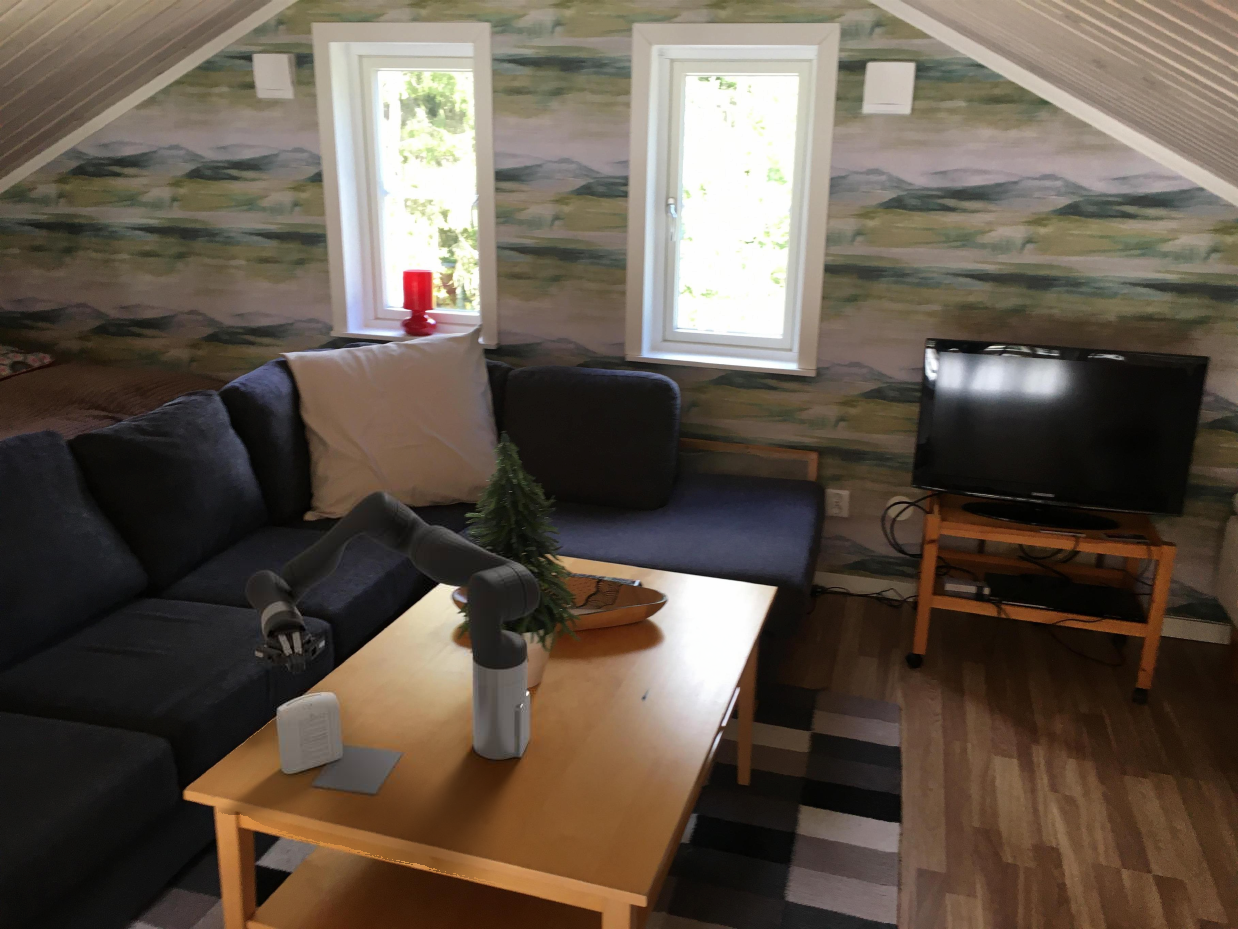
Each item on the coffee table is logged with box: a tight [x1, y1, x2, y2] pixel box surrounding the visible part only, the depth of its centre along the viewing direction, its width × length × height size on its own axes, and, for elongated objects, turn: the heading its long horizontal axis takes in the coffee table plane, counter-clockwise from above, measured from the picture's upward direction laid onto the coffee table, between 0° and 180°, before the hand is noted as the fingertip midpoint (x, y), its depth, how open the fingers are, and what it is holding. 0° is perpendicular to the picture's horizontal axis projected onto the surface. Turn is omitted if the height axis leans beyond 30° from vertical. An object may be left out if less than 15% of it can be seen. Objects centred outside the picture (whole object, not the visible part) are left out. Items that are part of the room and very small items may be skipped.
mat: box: [310, 743, 404, 796], centre depth 171 cm, size 11×12×1 cm
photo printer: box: [276, 691, 343, 775], centre depth 170 cm, size 10×4×12 cm, turn 123°
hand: (297, 668), depth 182 cm, fingers closed
